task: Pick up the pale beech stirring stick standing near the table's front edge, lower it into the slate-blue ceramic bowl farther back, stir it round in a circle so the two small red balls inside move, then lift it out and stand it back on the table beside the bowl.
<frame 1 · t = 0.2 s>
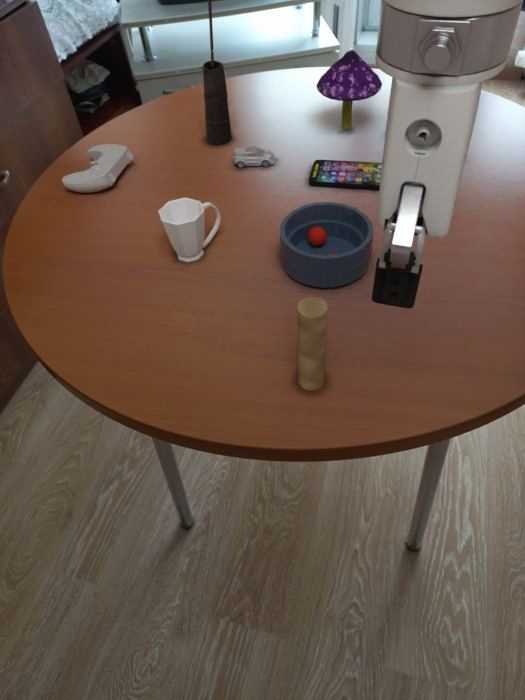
hand: (401, 263, 43), 23 cm above the table, tool pointing down, fingers open, 9 cm apart
ball b: (317, 236, 80), point 2 cm above the table, touching bowl
stick: (311, 380, 64), on the table
smartphone: (351, 178, 94), on the table
bowl: (325, 260, 79), on the table
butter churn: (216, 143, 106), on the table
game controller: (103, 177, 100), on the table
cup: (197, 250, 83), on the table
milk: (423, 147, 100), on the table
ball a: (334, 264, 75), point 2 cm above the table, touching bowl
decorative mushroom: (346, 131, 106), on the table
toy car: (254, 163, 100), on the table
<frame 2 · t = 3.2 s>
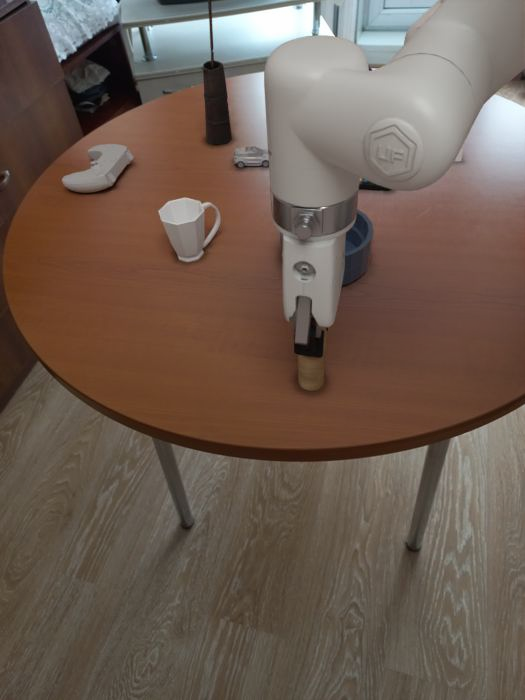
hand: (311, 340, 59), 8 cm above the table, tool pointing down, fingers closed on stick, 3 cm apart
stick: (311, 380, 64), on the table, touching gripper
everything else where it was.
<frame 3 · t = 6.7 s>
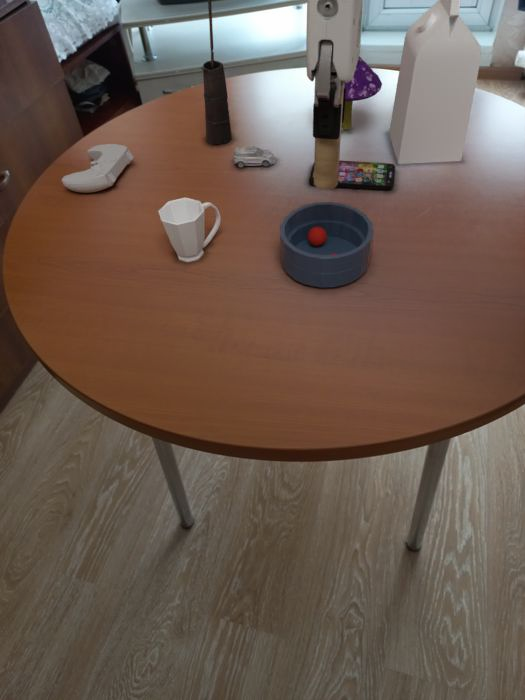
hand: (328, 128, 63), 21 cm above the table, tool pointing down, fingers closed on stick, 3 cm apart
stick: (325, 183, 69), point 13 cm above the table, touching gripper
everything else where it was.
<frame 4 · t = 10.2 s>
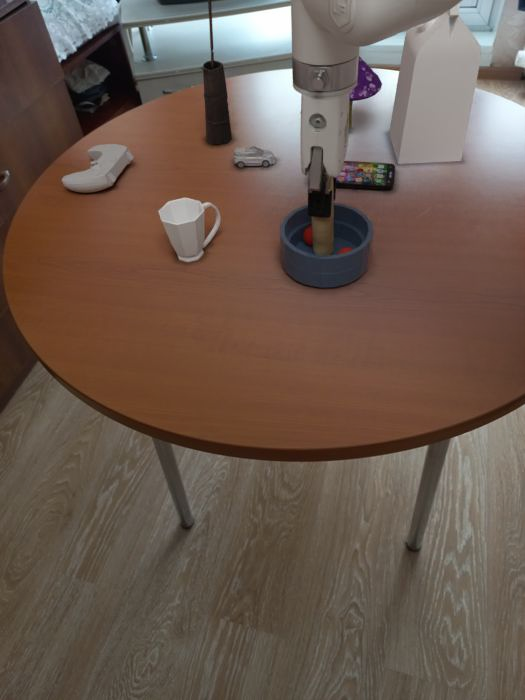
hand: (321, 206, 73), 9 cm above the table, tool pointing down, fingers closed on stick, 3 cm apart
ball b: (312, 235, 80), point 2 cm above the table, tilted 14°, touching bowl, stick
stick: (323, 249, 79), point 1 cm above the table, touching ball b, gripper
ball a: (346, 257, 76), point 2 cm above the table, tilted 30°, touching bowl
everything else where it was.
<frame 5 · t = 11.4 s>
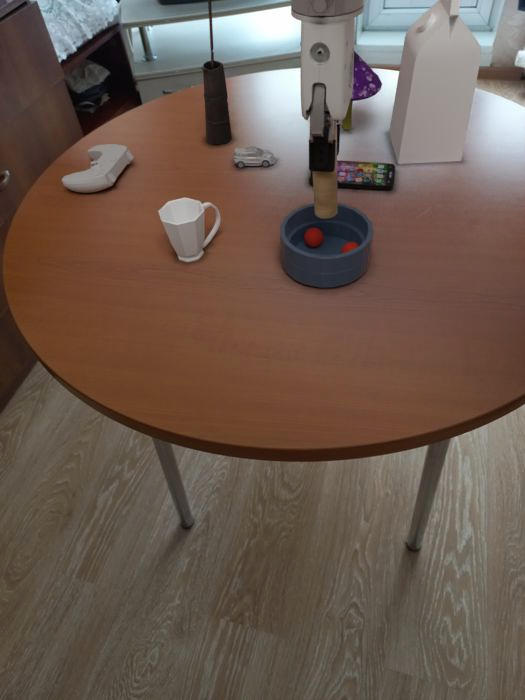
hand: (324, 161, 66), 17 cm above the table, tool pointing down, fingers closed on stick, 3 cm apart
ball b: (313, 237, 80), point 2 cm above the table, touching bowl
stick: (326, 212, 72), point 9 cm above the table, touching gripper
ball a: (351, 252, 77), point 2 cm above the table, tilted 84°, touching bowl
everything else where it was.
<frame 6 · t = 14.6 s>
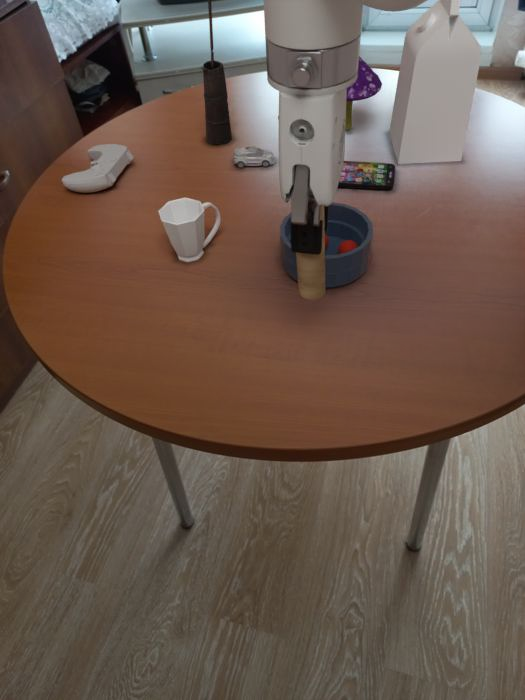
hand: (309, 238, 56), 17 cm above the table, tool pointing down, fingers closed on stick, 3 cm apart
ball b: (318, 241, 79), point 2 cm above the table, tilted 50°, touching bowl
stick: (312, 290, 61), point 9 cm above the table, touching gripper
when the fingers open (8 cm above the table, at t = 17.0 s): stick stays where it is, on the table.
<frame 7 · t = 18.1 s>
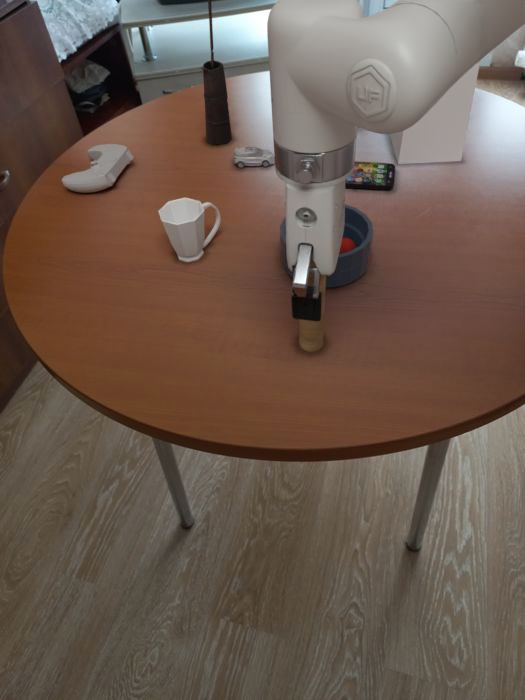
hand: (314, 289, 61), 10 cm above the table, tool pointing down, fingers open, 9 cm apart
ball b: (324, 245, 78), point 2 cm above the table, tilted 102°, touching bowl
stick: (311, 342, 69), on the table
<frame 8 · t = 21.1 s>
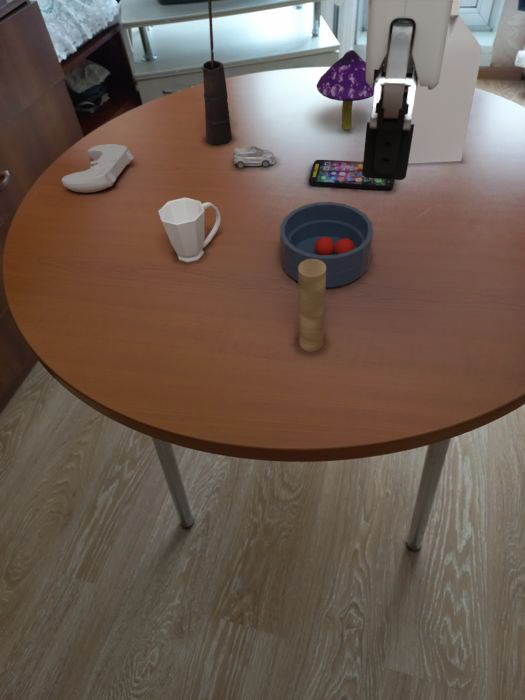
hand: (388, 144, 42), 30 cm above the table, tool pointing down, fingers open, 9 cm apart
ball b: (324, 247, 78), point 2 cm above the table, tilted 112°, touching bowl
at the end: ball b moved 2.8 cm from its start; stick inside the target area (0.2 cm from its centre), on the table; stick tilted 0° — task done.
